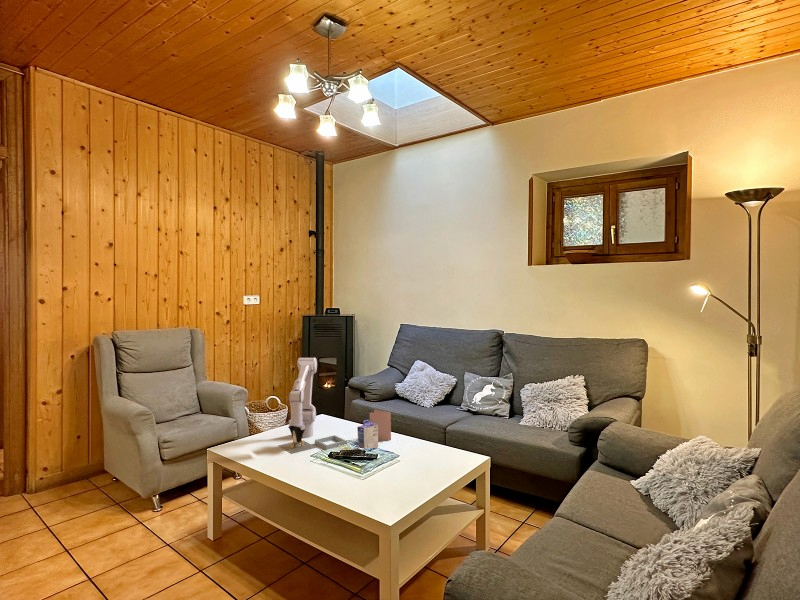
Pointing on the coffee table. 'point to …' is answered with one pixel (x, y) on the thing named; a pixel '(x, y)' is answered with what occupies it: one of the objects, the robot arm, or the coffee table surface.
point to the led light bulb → (296, 444)
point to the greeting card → (382, 423)
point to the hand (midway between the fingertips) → (297, 440)
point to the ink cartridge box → (368, 435)
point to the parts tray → (334, 437)
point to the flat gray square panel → (290, 448)
